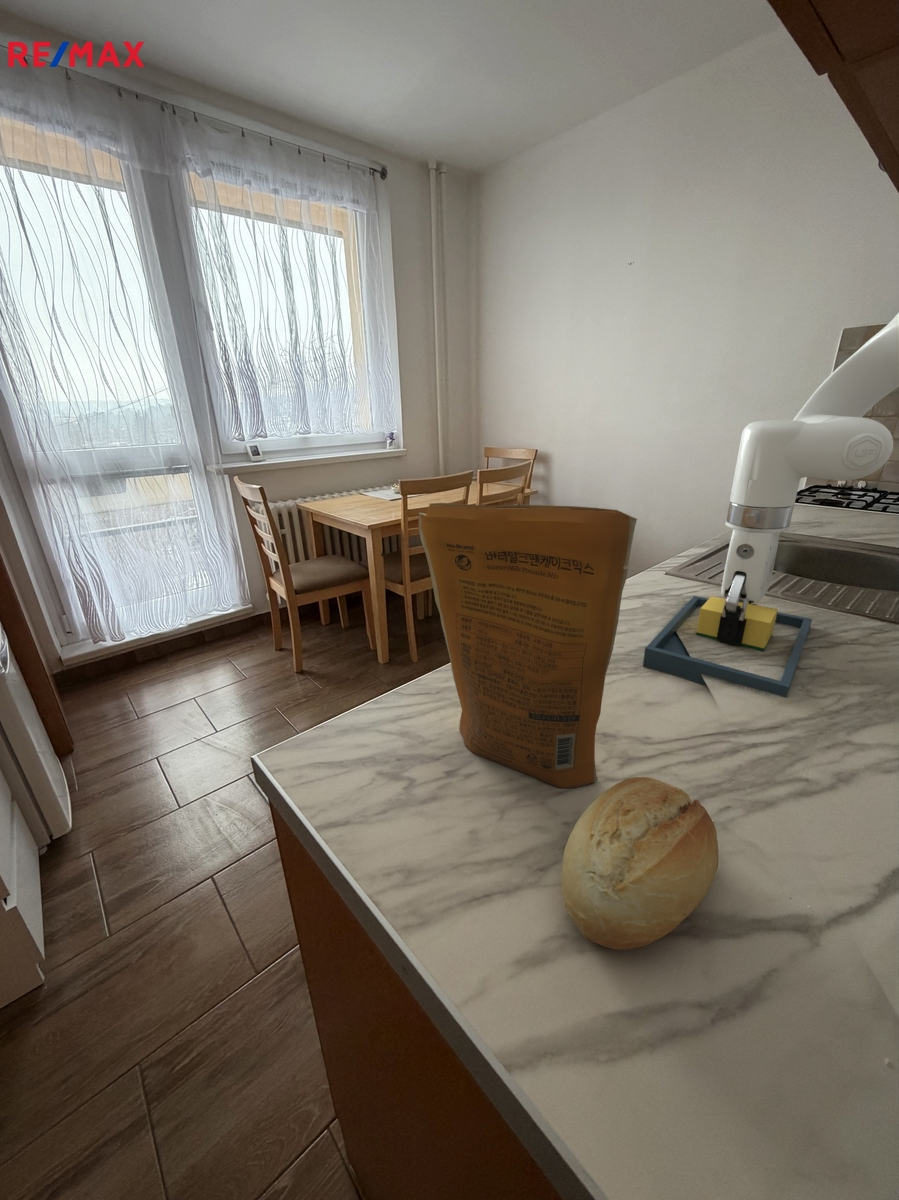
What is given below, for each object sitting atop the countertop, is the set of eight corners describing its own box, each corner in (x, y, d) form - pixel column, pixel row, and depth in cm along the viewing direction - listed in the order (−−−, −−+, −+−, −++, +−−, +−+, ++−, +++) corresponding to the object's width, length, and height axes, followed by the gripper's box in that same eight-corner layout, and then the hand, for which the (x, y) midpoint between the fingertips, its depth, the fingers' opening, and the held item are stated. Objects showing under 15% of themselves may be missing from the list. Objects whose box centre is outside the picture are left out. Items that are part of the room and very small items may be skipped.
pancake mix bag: (596, 818, 44) (625, 517, 34) (428, 748, 54) (411, 499, 44) (617, 773, 49) (648, 500, 39) (460, 716, 60) (451, 487, 49)
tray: (691, 611, 86) (694, 595, 85) (807, 636, 75) (812, 618, 74) (642, 666, 69) (644, 647, 68) (783, 708, 59) (789, 687, 57)
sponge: (706, 624, 78) (711, 596, 76) (770, 639, 73) (778, 609, 71) (695, 638, 74) (700, 608, 72) (763, 655, 69) (770, 623, 67)
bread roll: (734, 858, 40) (753, 783, 37) (658, 1010, 30) (676, 925, 27) (624, 798, 46) (633, 730, 43) (532, 909, 37) (535, 831, 34)
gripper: (779, 533, 58) (750, 664, 65) (800, 507, 70) (773, 620, 77) (711, 525, 62) (690, 648, 69) (741, 502, 74) (721, 609, 81)
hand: (734, 632), depth 73 cm, fingers closed on sponge, 6 cm apart
